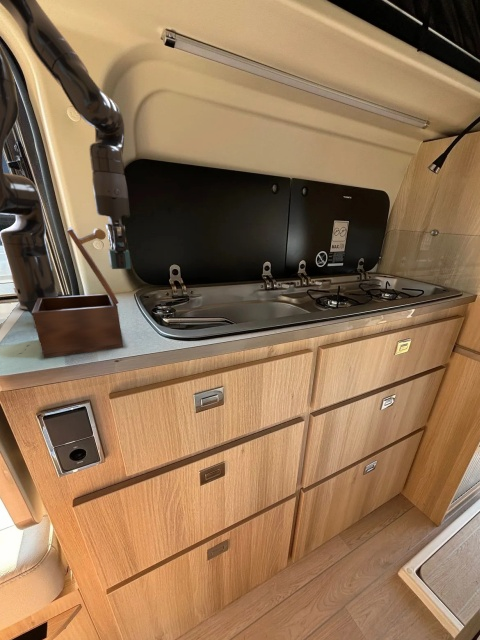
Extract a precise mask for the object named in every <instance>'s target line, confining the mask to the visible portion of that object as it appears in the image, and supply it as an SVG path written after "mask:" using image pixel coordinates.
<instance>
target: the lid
mask: <svg viewBox="0 0 480 640" xmlns="http://www.w3.org/2000/svg"><path fill="white" fill-rule="evenodd" d="M67 233H68V235H69V237H70V238H71V240H72V241H73V242H74V244H75V246H76V247H77V248H78V250H79V252H80V254H81V255H82V256H83V258H84V259H85V261H86V262H87V264H88V266H89V268H90V269H91V270H92V272H93V274H94V275H95V277H96V278H97V280H98V282H99V283H100V284H101V285H102V287H103V289H104V290H105V292H106V294H108V295H109V296H110V298H111V299H112V301H113V303H114V304H115V305H119V300H118V298H117V296H116V295H115V293H114V291H113V289H112V287H111V286H110V285H109V283H108V282H107V280H106V278H105V277H104V275H103V273H102V271H101V270H100V268H99V267H98V266H97V264H96V262H95V261H94V259H93V258H92V256H91V255H90V253H89V252H88V250H87V248H86V246H85V245H84V244H86V243H89V242H91V241H93V240H96V239H97V240H101V241H103V240H104V239H106V235H107V234H106V232H105V231H104V230H103V229H101V228H98V227H97V228H96V227H95V228H94V229H93V232H92V233H89V234H87V235H84V236H82V237H79V236H78V234H77V233H76V231H75V230H74V228H73V226H71V227H68V228H67Z"/></svg>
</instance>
